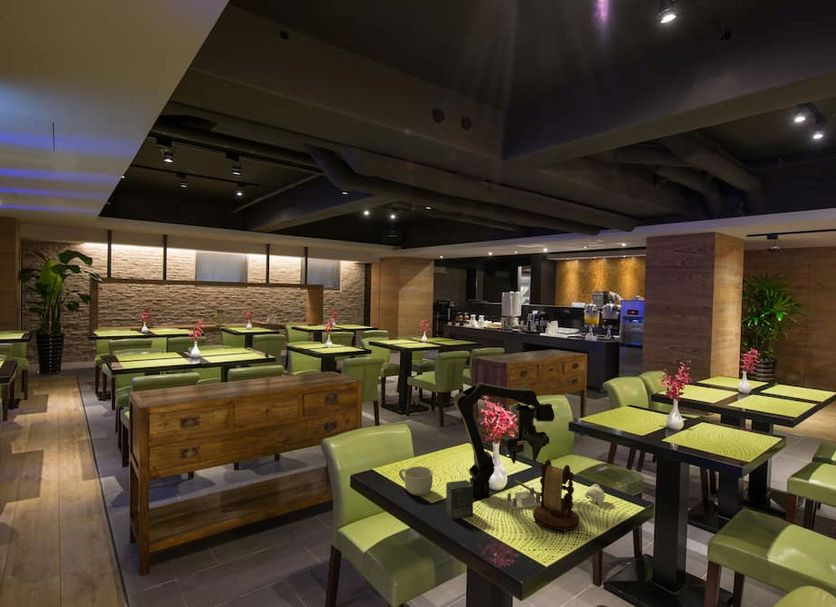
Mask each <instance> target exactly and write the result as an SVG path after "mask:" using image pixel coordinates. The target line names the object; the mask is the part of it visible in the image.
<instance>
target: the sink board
mask: <svg viewBox="0 0 836 607" xmlns="http://www.w3.org/2000/svg"><path fill="white" fill-rule="evenodd" d="M530 488H531V489H533V490H535V488H534V487H530ZM540 493H541V491H536V494H535V493H533V492H531V491H530V490H526V491H525V490H524V491H518V492H515V493H514V498H512V493H507V499H504V502H505V503H506V504H507V505H508V506H510V508H512V509H513V510H515V511H516V510H522V509H529V508H536V507H539V506H541V504H540V503H541V496H540Z"/></svg>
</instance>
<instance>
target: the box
mask: <svg viewBox="0 0 836 607" xmlns="http://www.w3.org/2000/svg"><path fill="white" fill-rule="evenodd" d="M445 486H446V489H445V492H446V493H445V494H446V497H445V499H446V502H445V503H446V504H445V505H446V506H445V507H446V508H445V512H446V514H447V515H448V516H449V518H450V519H451V520H452V521H453V520H458V519H464V518H471V517H474V498H473V485H472V484H471V483H470V481H469V480H467V479H464V480H457V481H449V482H446V484H445Z"/></svg>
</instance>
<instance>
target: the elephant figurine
mask: <svg viewBox="0 0 836 607" xmlns="http://www.w3.org/2000/svg"><path fill="white" fill-rule="evenodd" d="M606 496H607V494H605V492H604V490H603V489H602V488H601V487H600V485H599V484H598V483H594V484H592V485H591V486H589V487H588V489H587V490H586V492H585V493H584V497H585V498H586V499H590V498H591V503H592V504H598V505H599V506H602V504H603V503H604V501H605V498H606Z"/></svg>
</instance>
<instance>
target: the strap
mask: <svg viewBox="0 0 836 607" xmlns="http://www.w3.org/2000/svg"><path fill="white" fill-rule="evenodd" d="M514 482H515V483H517V485H519V486H521V487H523V488H525V489H526V490H527V491H529V492H530V491H531V492H533V493H534V495H536V492H537V491H536V490H535V489H534V490H533V489H531V488H532V487H529V486H528V485H525V484H524V483H522V482H520V481H519V480H517V479H515V478H514Z"/></svg>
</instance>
